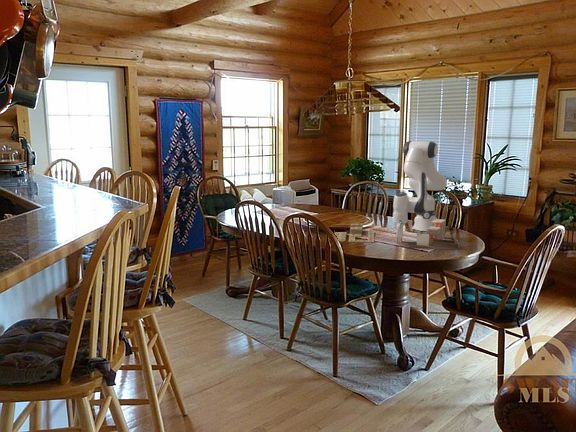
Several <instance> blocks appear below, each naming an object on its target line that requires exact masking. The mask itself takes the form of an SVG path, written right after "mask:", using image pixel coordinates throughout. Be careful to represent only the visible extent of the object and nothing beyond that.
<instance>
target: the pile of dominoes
mask: <svg viewBox="0 0 576 432" xmlns="http://www.w3.org/2000/svg"><path fill="white" fill-rule="evenodd" d="M363 225H364V224H363V223H351V224H350V227H349V228H350V229H349V236H348V243H365V244H366V243H368V244H369V243H370V244H373V243H375V231H374V230H367V239H356V237H359V238H360V237H362V236H363V235H362V234H363V228H364V227H363ZM351 226H357V227H351ZM334 234H335V235H336V236H337V238H338V240H339V241H338V242H346V241H347V234H348V231H347V232H335V231H334Z"/></svg>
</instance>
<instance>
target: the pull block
mask: <svg viewBox="0 0 576 432" xmlns="http://www.w3.org/2000/svg"><path fill="white" fill-rule="evenodd" d="M408 243H410V244H417V245H423V246H429V234H427V233H416V240H415V241H409V240H408V241H406V240H405V241H403V237H401V242H398V237H397V236H396V244H398V245H400V244H401V245H402V244H408Z"/></svg>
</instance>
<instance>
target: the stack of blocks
mask: <svg viewBox="0 0 576 432" xmlns="http://www.w3.org/2000/svg"><path fill="white" fill-rule="evenodd" d="M446 224H447V220H446V219H443V218H441V219H440V218H437V219H435V220H434V221H432V225H431V227H430V228H429V229H428V231H426V232H427V233H426V234H429V243H433V239H441V240H445V238H446Z"/></svg>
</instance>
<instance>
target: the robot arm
mask: <svg viewBox="0 0 576 432" xmlns="http://www.w3.org/2000/svg"><path fill="white" fill-rule="evenodd" d="M438 151H439V147H438V145H437V143H436V142H434V141H428V140H427V141H426V140H425V141H424V140H413V141H412V140H409V141H406V142H405V143H404V144H403V148H402V153H403V155H404V156H405V159H404V164H403V172H404V174H405V175H406V176H407V178H409V179H408V185H409V187H410V188H411V190H413V191H414V193H415V194H416V196H415V197H414V196H408V193H406V192H401V191H400V192H396V193H395V194H394V196H393V205H392V207H393V212H392V223H394V225H395V226H396V238H397V237H398V242H401V237H402V238H403V237H404V226H405V225H406V223H408V221H409V220H408V213H410V214H411V213H413V214H416V216H415V217H414V219H413V222H414V224H413V225H412V226H411V229H412V230H416V231H422V232H427V231H428V229H429V228H430V227H431V225H432V221H434V220H435V219H438V218H437V217H436V209H435V206H436V205H435V204H436V199H435V197H433V196H432V195H430V194H429V193H428V192H427V191H443V190H445V188H446V186H447V183H448V181H447V178H446V176H444V175H443V174H442V173H440V172H439V171H438V169H437V168H436V165H435V157H436V156H437V154H438Z"/></svg>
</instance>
